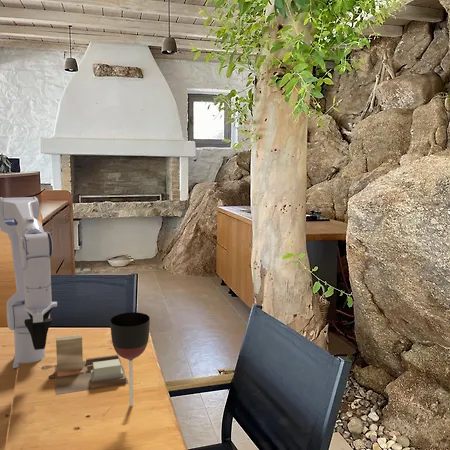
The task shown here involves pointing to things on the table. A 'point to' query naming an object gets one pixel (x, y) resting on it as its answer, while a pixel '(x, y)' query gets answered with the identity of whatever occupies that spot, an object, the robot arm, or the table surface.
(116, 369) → the offcut upper
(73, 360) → the tan wooden block
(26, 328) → the robot arm
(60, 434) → the table surface
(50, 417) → the table surface
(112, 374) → the offcut lower
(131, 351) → the wineglass
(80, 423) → the table surface
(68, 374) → the walnut rack
